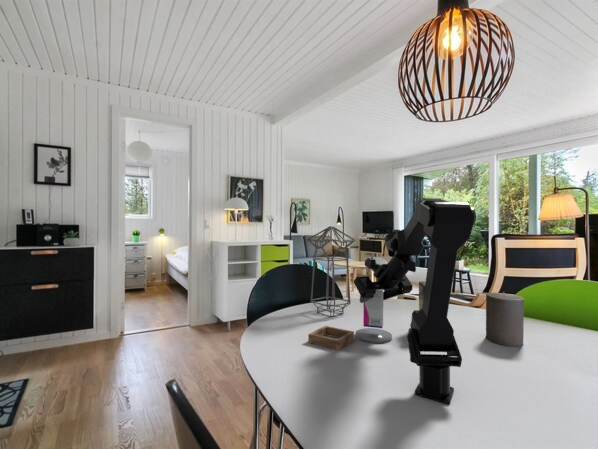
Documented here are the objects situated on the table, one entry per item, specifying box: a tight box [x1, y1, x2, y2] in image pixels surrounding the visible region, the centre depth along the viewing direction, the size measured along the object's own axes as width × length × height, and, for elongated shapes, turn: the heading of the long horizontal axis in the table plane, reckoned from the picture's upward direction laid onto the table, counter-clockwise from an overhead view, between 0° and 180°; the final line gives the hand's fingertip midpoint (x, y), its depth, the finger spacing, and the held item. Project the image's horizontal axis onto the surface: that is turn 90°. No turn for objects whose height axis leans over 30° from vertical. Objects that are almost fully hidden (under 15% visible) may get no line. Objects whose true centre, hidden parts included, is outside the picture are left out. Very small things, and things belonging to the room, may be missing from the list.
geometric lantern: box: [306, 226, 357, 318], centre depth 123 cm, size 16×16×35 cm
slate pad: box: [355, 327, 393, 344], centre depth 95 cm, size 11×11×1 cm
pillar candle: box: [485, 291, 525, 348], centre depth 93 cm, size 10×10×15 cm
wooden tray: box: [307, 325, 355, 351], centre depth 91 cm, size 10×10×2 cm
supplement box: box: [362, 290, 384, 329], centre depth 95 cm, size 6×6×12 cm
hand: (371, 300), depth 97 cm, fingers closed on supplement box, 8 cm apart
